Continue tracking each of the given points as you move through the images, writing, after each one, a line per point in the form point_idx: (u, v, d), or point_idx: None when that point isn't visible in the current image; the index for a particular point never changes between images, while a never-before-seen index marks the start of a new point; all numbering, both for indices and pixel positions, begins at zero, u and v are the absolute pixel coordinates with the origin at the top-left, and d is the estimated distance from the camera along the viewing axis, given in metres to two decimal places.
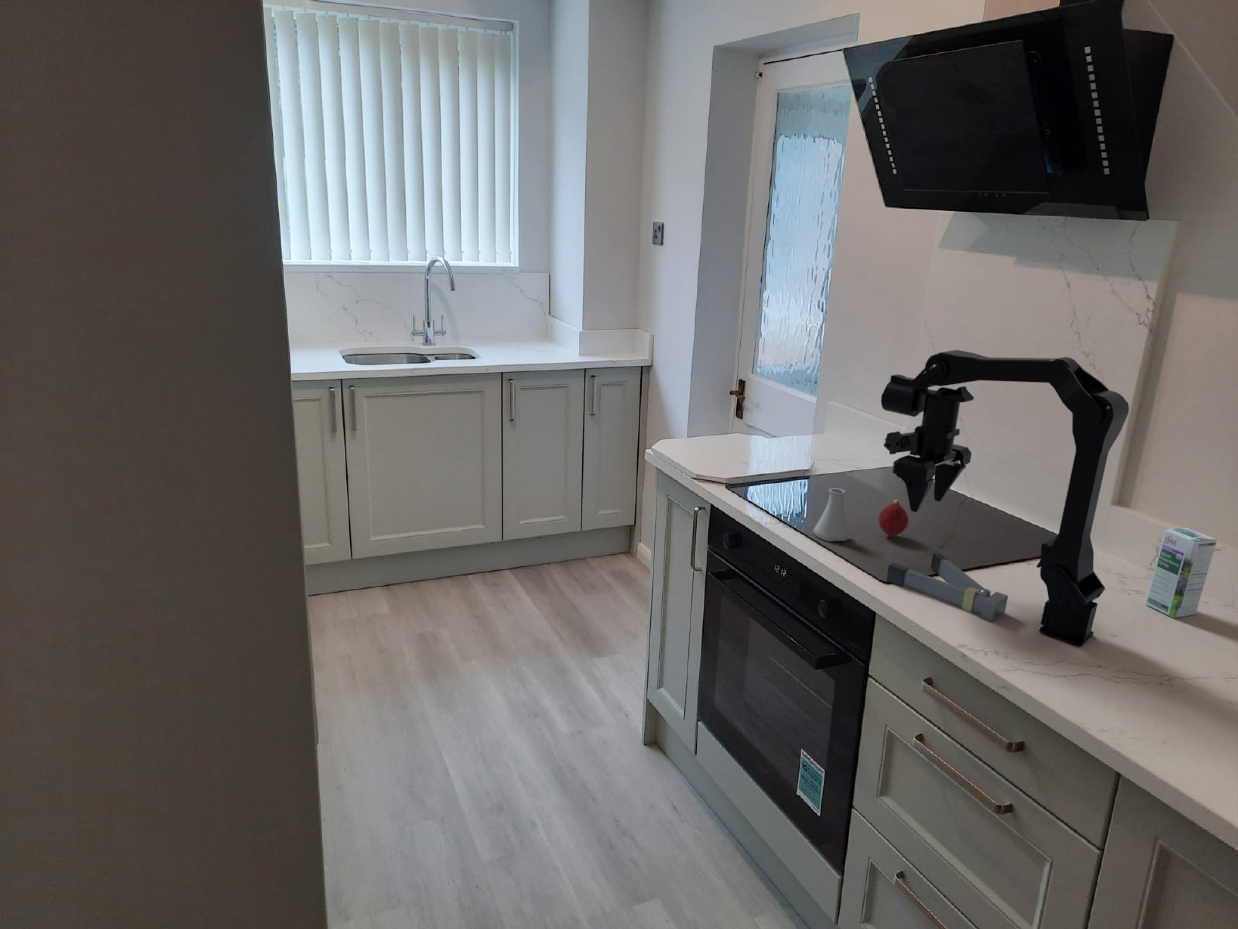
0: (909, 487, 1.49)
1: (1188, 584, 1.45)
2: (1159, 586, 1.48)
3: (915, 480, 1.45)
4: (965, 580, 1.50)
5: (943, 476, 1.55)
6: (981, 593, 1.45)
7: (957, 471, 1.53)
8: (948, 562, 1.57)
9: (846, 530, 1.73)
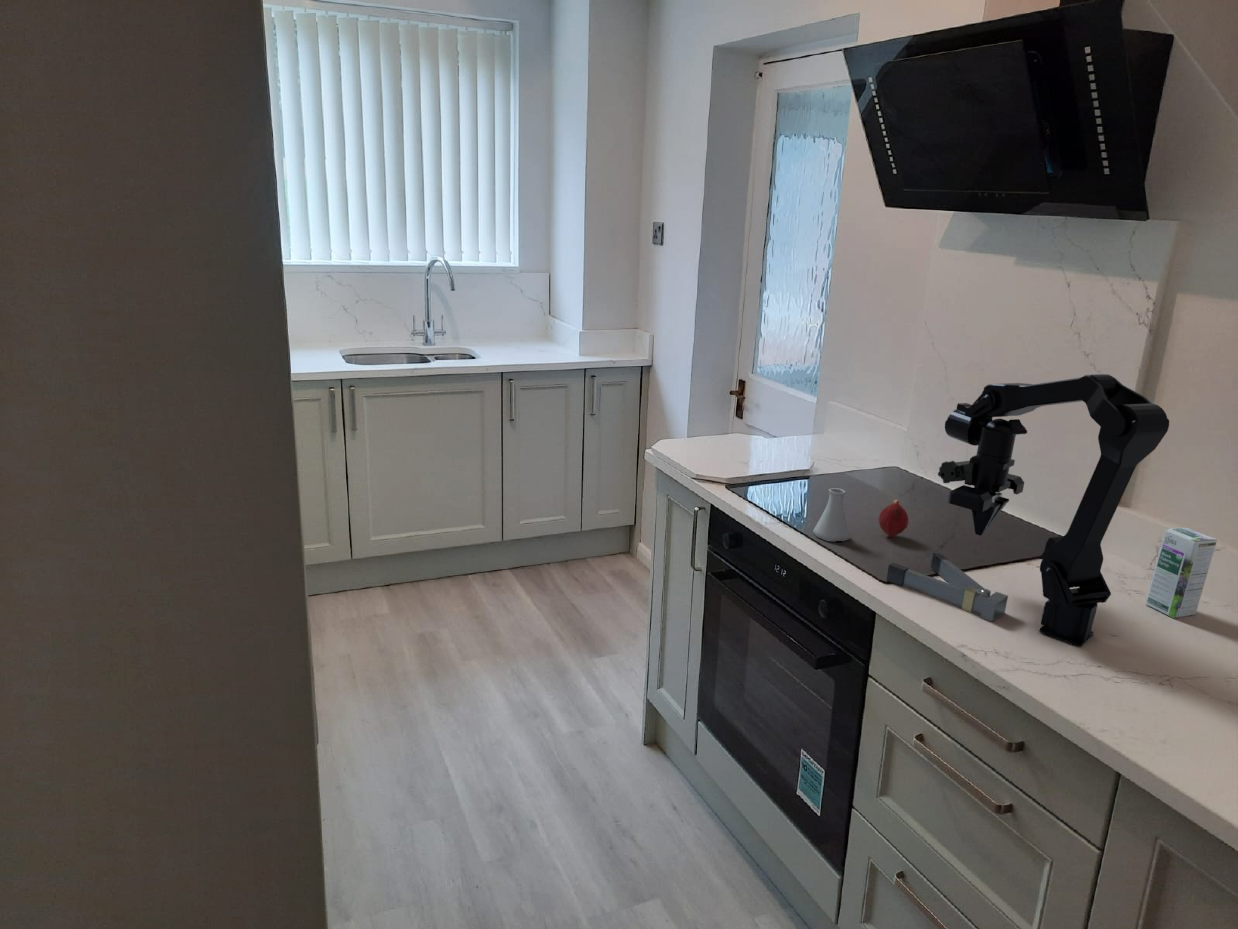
0: (975, 511, 1.54)
1: (1188, 584, 1.45)
2: (1159, 586, 1.48)
3: None
4: (965, 580, 1.50)
5: None
6: (981, 593, 1.45)
7: (1000, 505, 1.52)
8: (948, 562, 1.57)
9: (846, 530, 1.73)
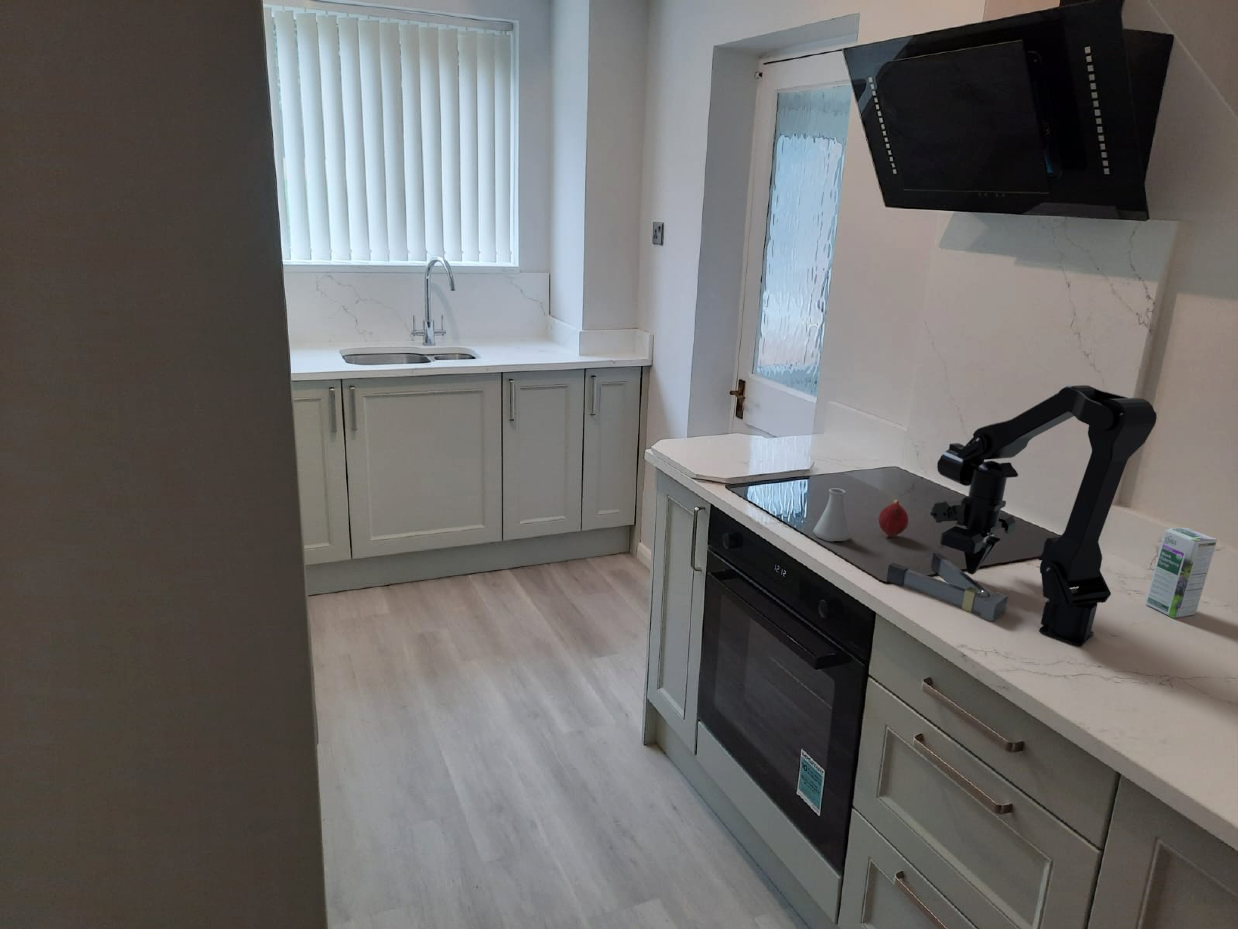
0: None
1: (1188, 584, 1.45)
2: (1159, 586, 1.48)
3: None
4: (965, 580, 1.50)
5: None
6: (981, 593, 1.45)
7: (992, 545, 1.55)
8: (948, 562, 1.57)
9: (846, 530, 1.73)
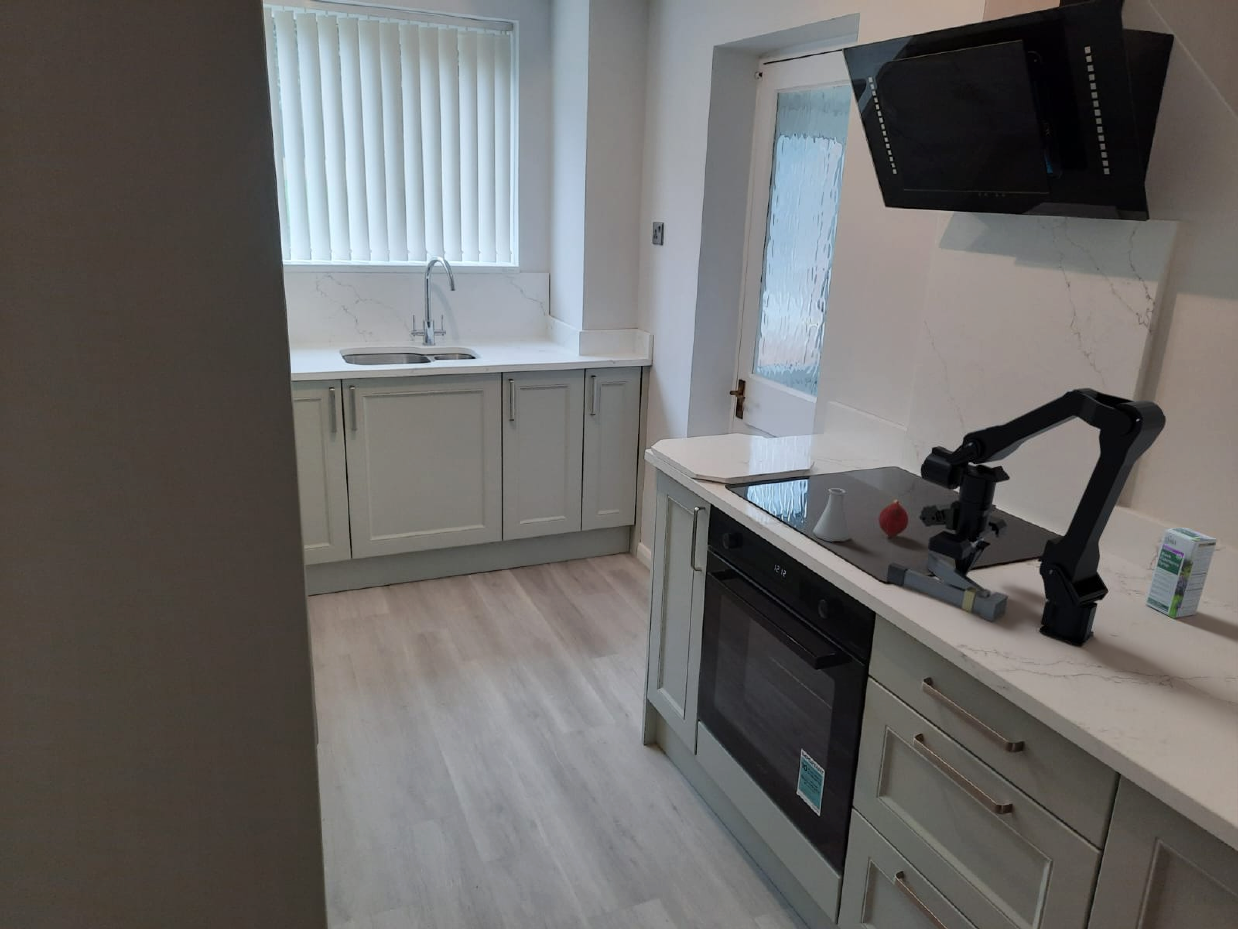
0: None
1: (1188, 584, 1.45)
2: (1159, 586, 1.48)
3: None
4: (964, 580, 1.50)
5: None
6: (981, 593, 1.45)
7: (981, 550, 1.52)
8: (944, 562, 1.56)
9: (846, 530, 1.73)
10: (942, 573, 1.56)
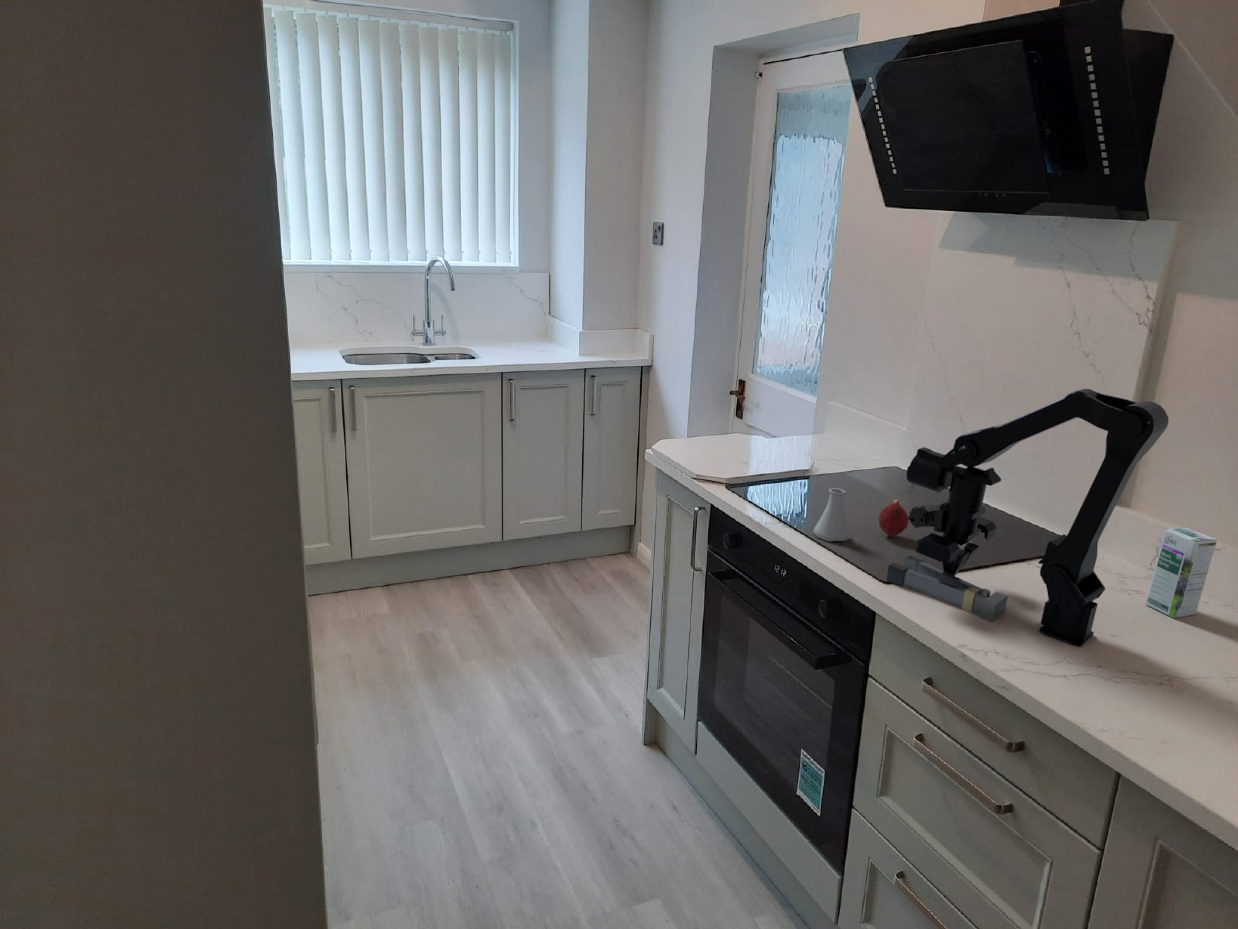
0: None
1: (1188, 584, 1.45)
2: (1159, 586, 1.48)
3: None
4: (957, 582, 1.49)
5: None
6: (982, 594, 1.45)
7: (969, 553, 1.50)
8: (927, 565, 1.55)
9: (846, 530, 1.73)
10: None
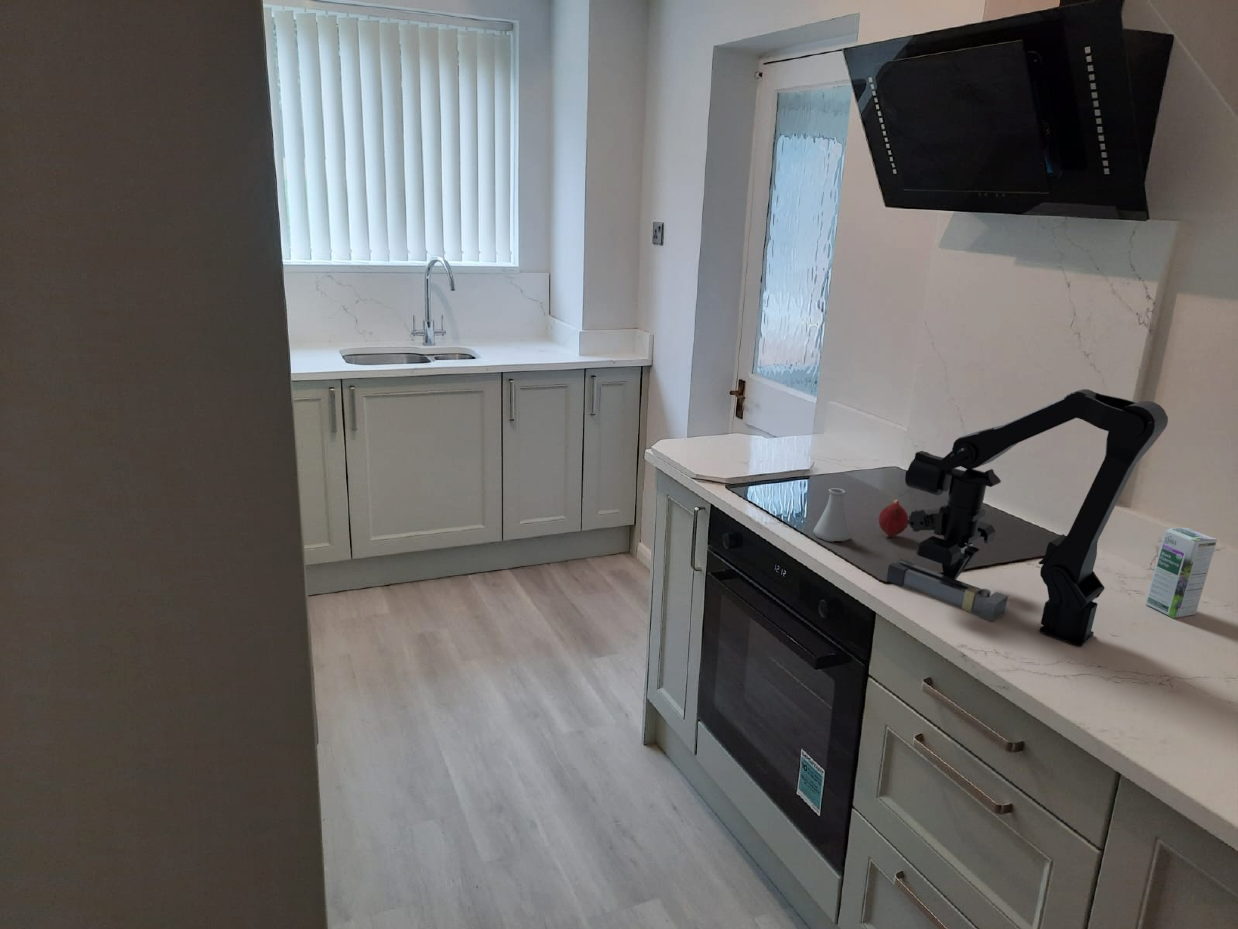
0: None
1: (1188, 584, 1.45)
2: (1159, 586, 1.48)
3: None
4: (954, 583, 1.48)
5: None
6: (983, 594, 1.45)
7: (970, 556, 1.49)
8: (919, 567, 1.54)
9: (846, 530, 1.73)
10: None
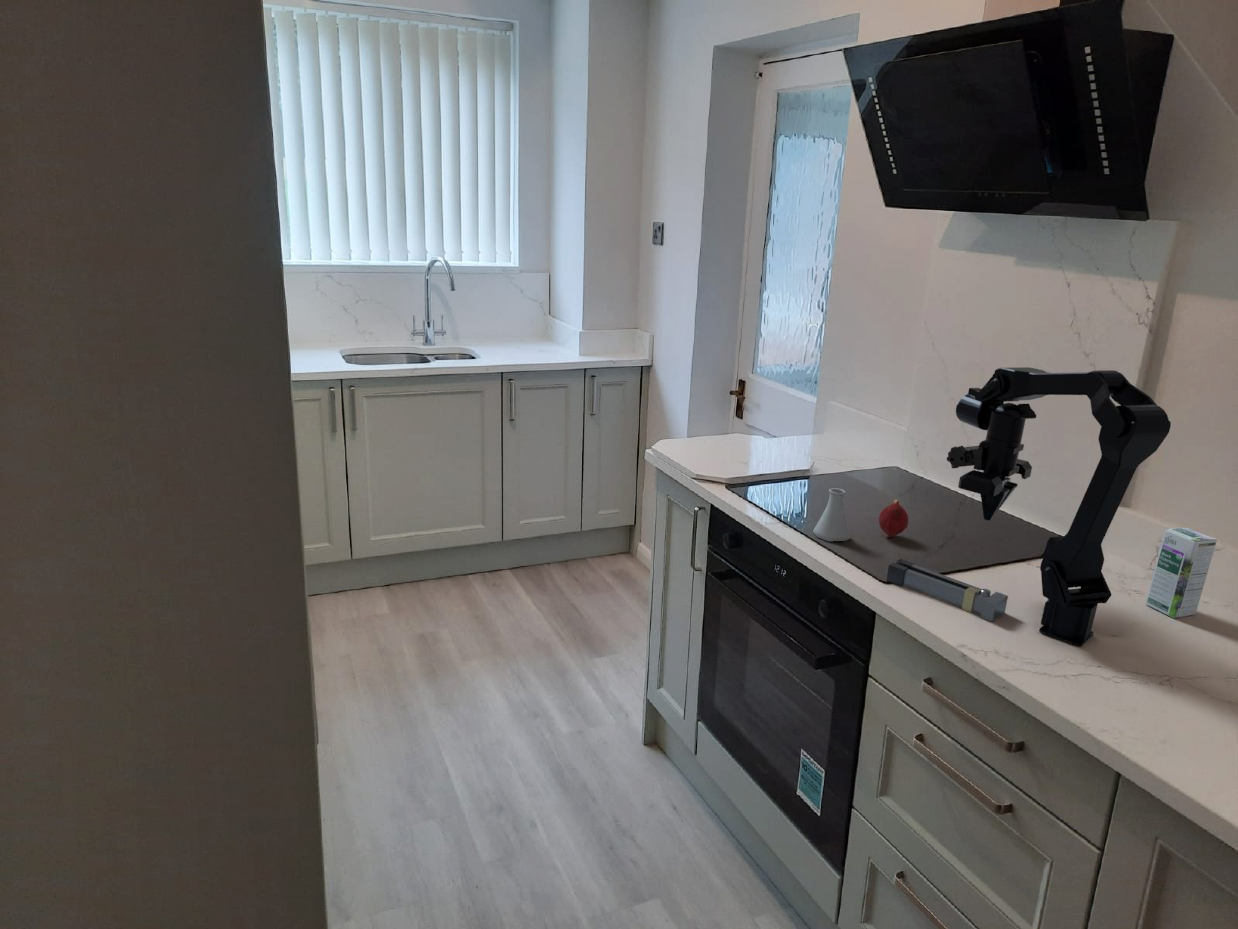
0: (984, 496, 1.53)
1: (1188, 584, 1.45)
2: (1159, 586, 1.48)
3: None
4: (954, 583, 1.48)
5: None
6: (983, 594, 1.45)
7: (1009, 490, 1.52)
8: (919, 567, 1.54)
9: (846, 530, 1.73)
10: None
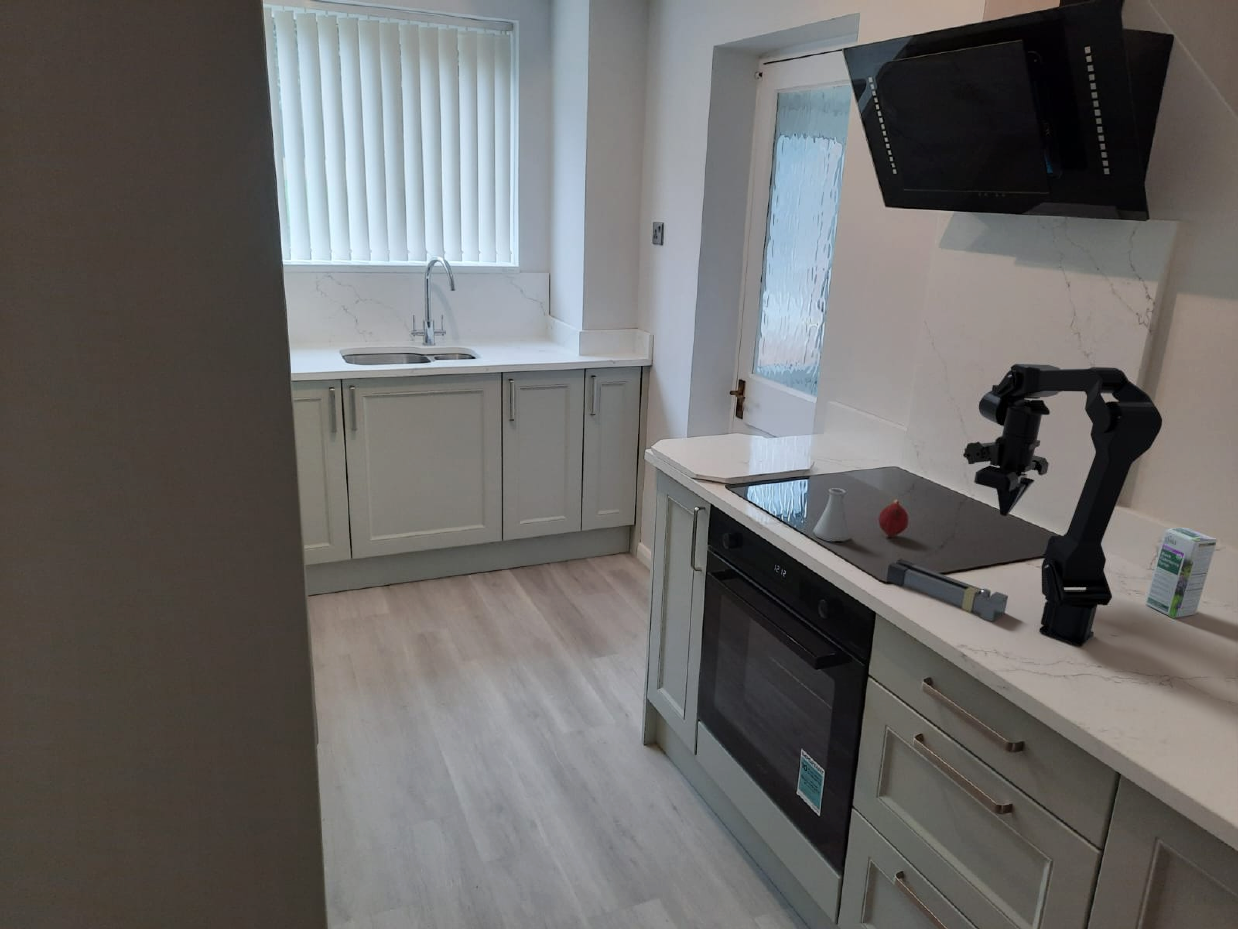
0: (1000, 492, 1.55)
1: (1188, 584, 1.45)
2: (1159, 586, 1.48)
3: None
4: (954, 583, 1.48)
5: None
6: (983, 594, 1.45)
7: (1026, 486, 1.54)
8: (919, 567, 1.54)
9: (846, 530, 1.73)
10: None
